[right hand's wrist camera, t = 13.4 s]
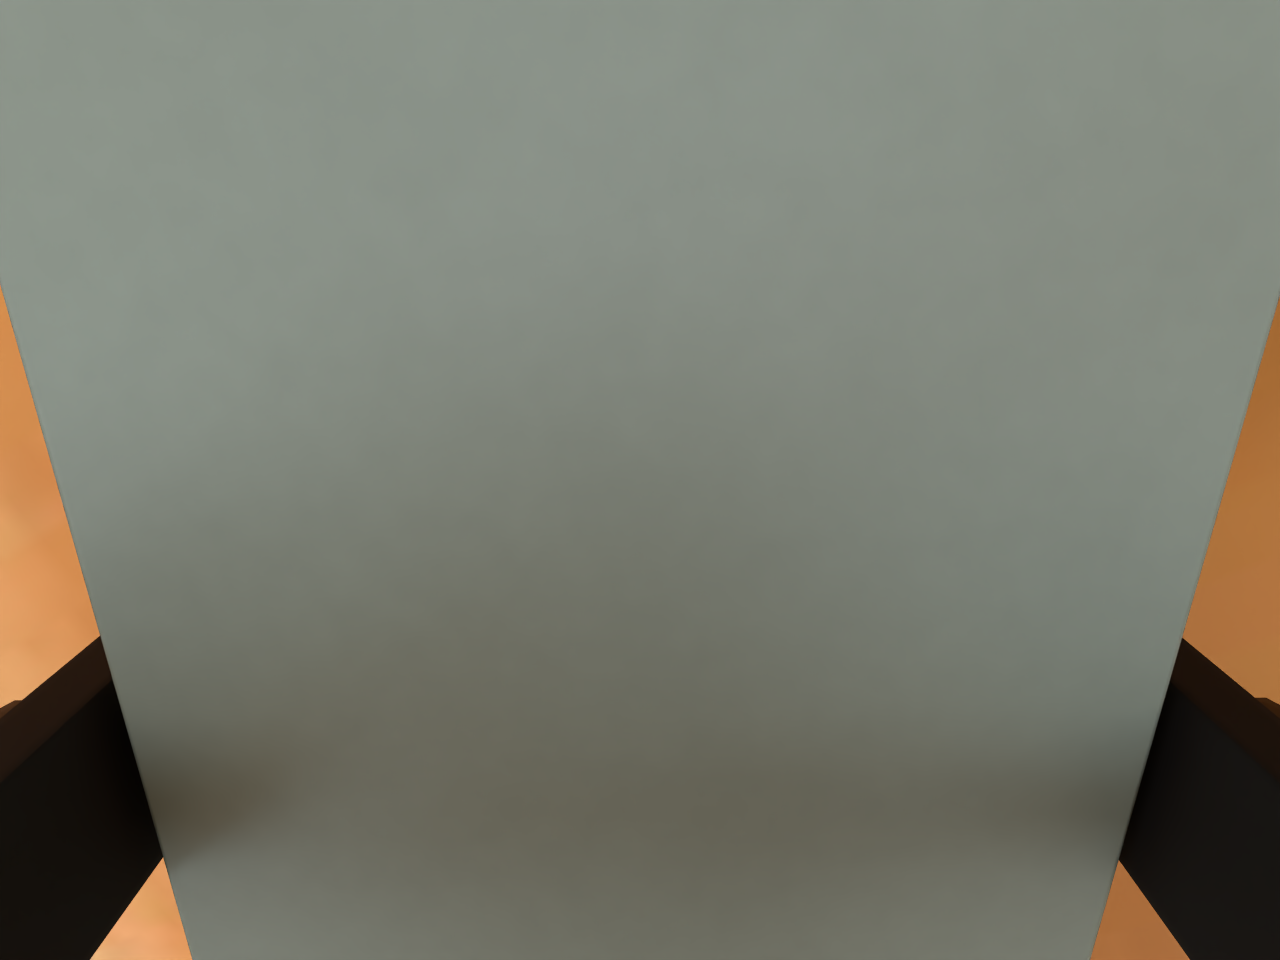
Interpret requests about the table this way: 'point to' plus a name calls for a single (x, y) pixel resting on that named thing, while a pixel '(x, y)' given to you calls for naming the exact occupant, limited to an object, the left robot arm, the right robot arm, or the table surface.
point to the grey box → (640, 450)
